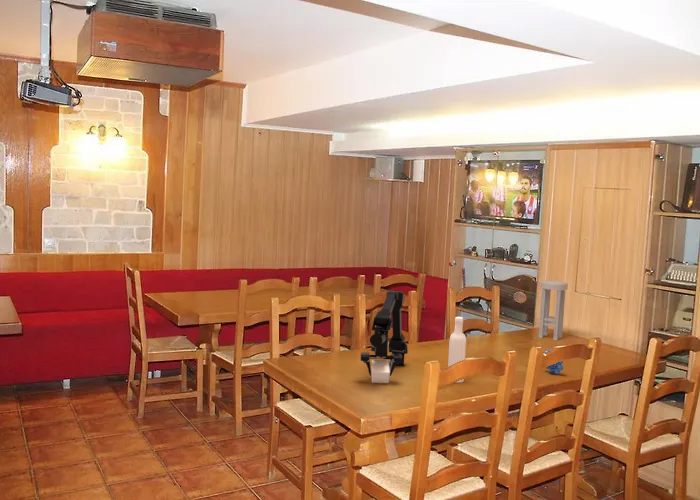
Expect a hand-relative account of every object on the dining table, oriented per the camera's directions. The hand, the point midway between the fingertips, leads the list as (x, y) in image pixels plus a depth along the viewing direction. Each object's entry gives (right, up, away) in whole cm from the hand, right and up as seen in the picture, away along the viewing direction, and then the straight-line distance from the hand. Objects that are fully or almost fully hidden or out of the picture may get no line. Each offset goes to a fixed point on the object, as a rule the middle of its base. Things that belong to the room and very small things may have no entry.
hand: (380, 375), depth 305 cm
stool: (+111, +3, +113) cm, 159 cm away
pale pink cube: (0, -1, +2) cm, 2 cm away
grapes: (+86, -4, +27) cm, 91 cm away
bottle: (+36, -4, +8) cm, 37 cm away
